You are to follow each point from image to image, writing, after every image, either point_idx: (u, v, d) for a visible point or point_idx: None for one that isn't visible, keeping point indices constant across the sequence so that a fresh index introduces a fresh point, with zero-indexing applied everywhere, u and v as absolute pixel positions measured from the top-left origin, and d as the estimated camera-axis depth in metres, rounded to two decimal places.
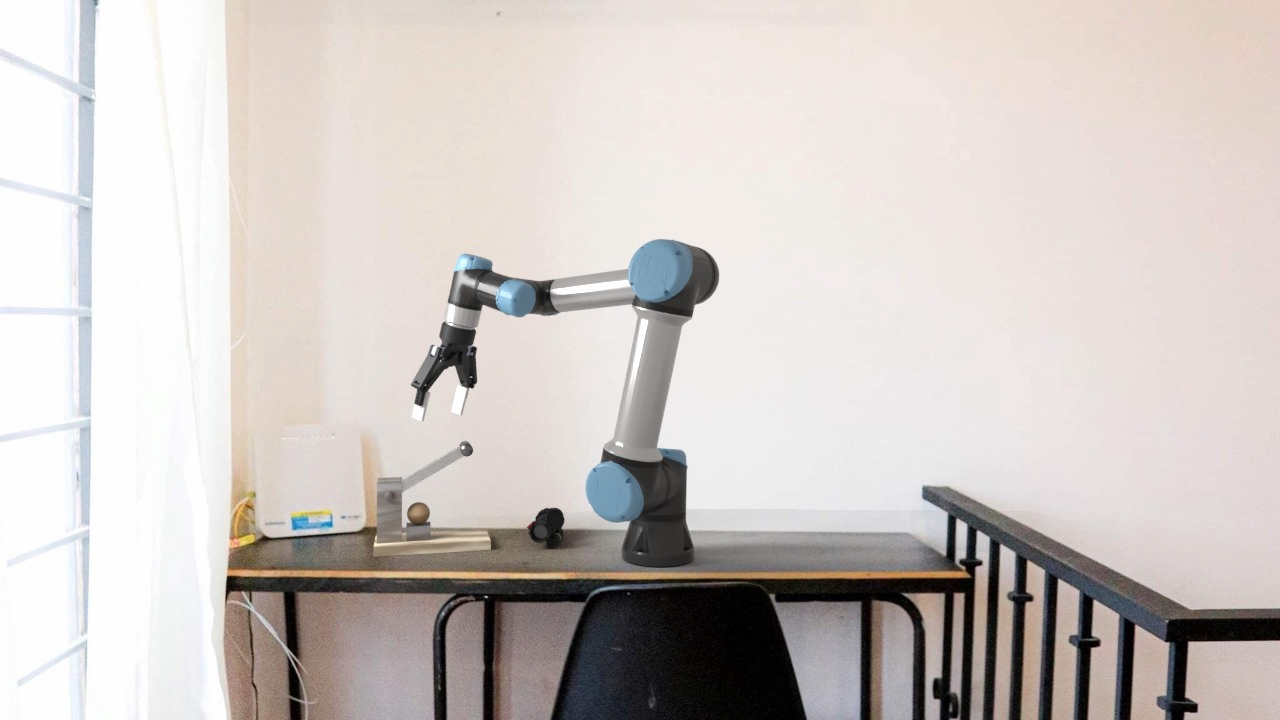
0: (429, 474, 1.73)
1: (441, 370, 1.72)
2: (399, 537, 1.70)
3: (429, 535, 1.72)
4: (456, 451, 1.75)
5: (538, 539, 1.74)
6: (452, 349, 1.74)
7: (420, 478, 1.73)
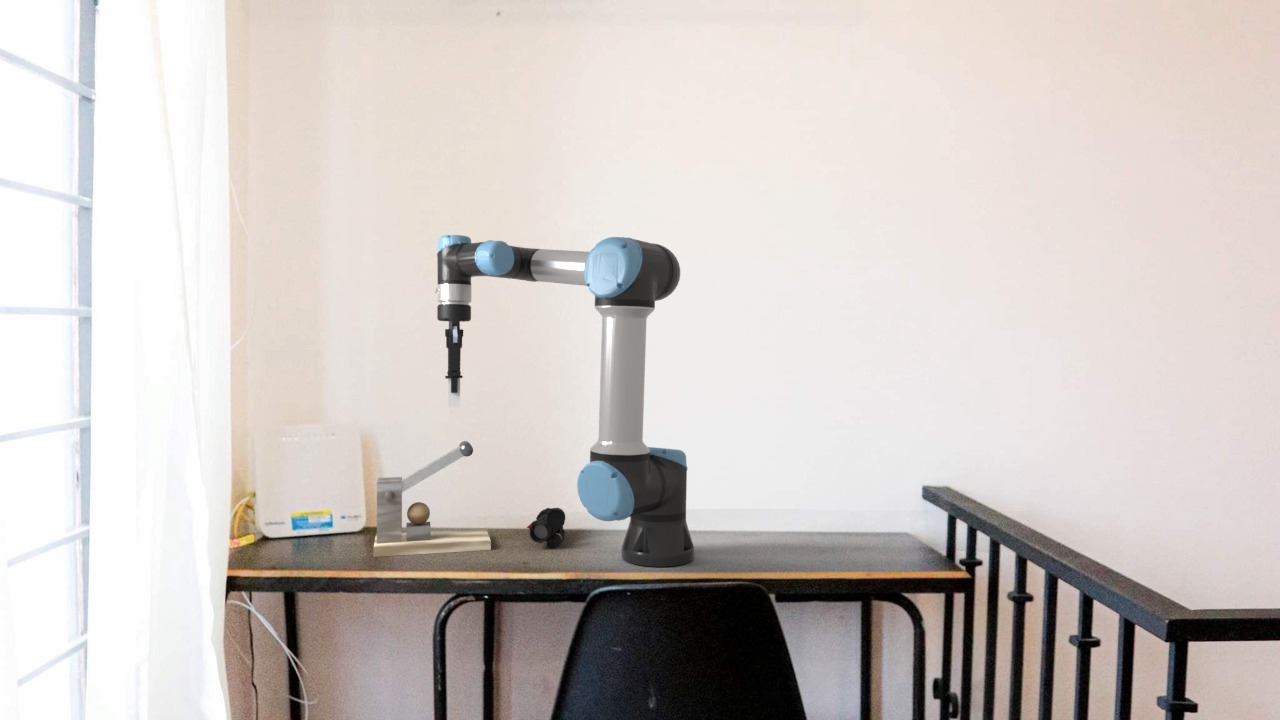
0: (429, 474, 1.73)
1: None
2: (399, 537, 1.70)
3: (429, 535, 1.72)
4: (456, 451, 1.75)
5: (538, 539, 1.74)
6: (459, 324, 1.81)
7: (420, 478, 1.73)
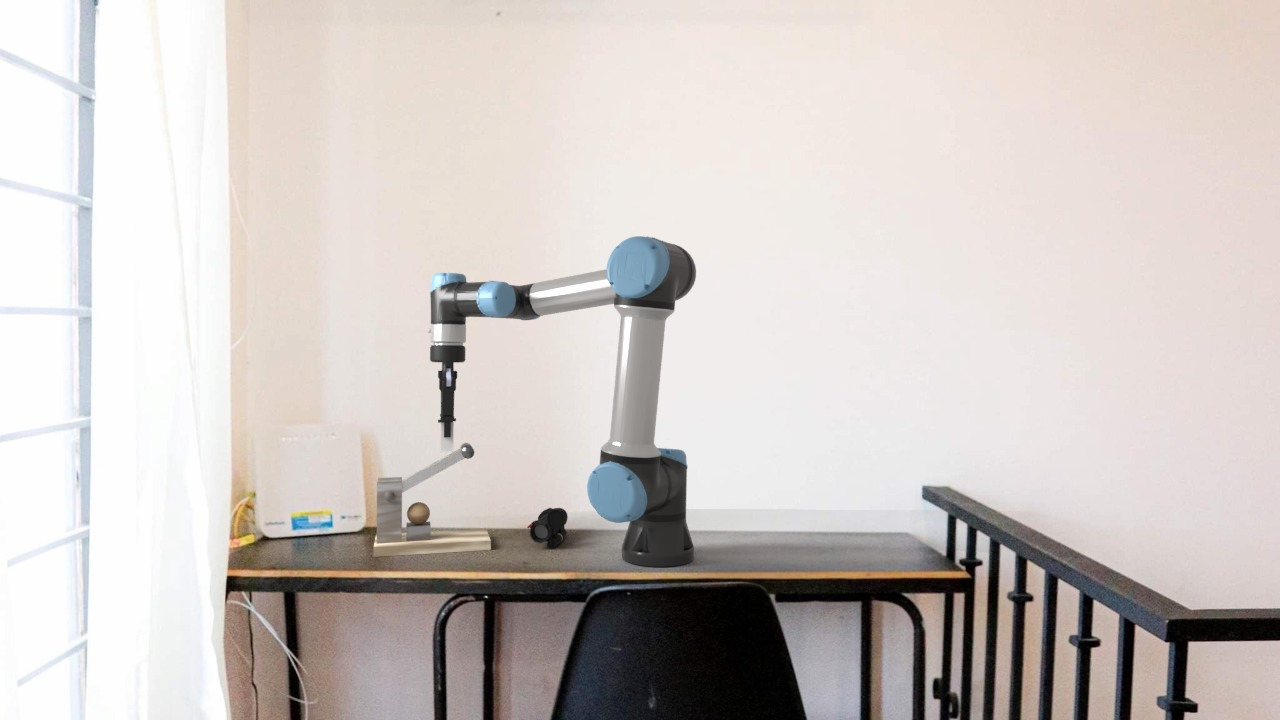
0: (430, 475, 1.73)
1: None
2: (399, 537, 1.70)
3: (429, 535, 1.72)
4: (457, 453, 1.75)
5: (539, 539, 1.74)
6: None
7: (420, 479, 1.73)
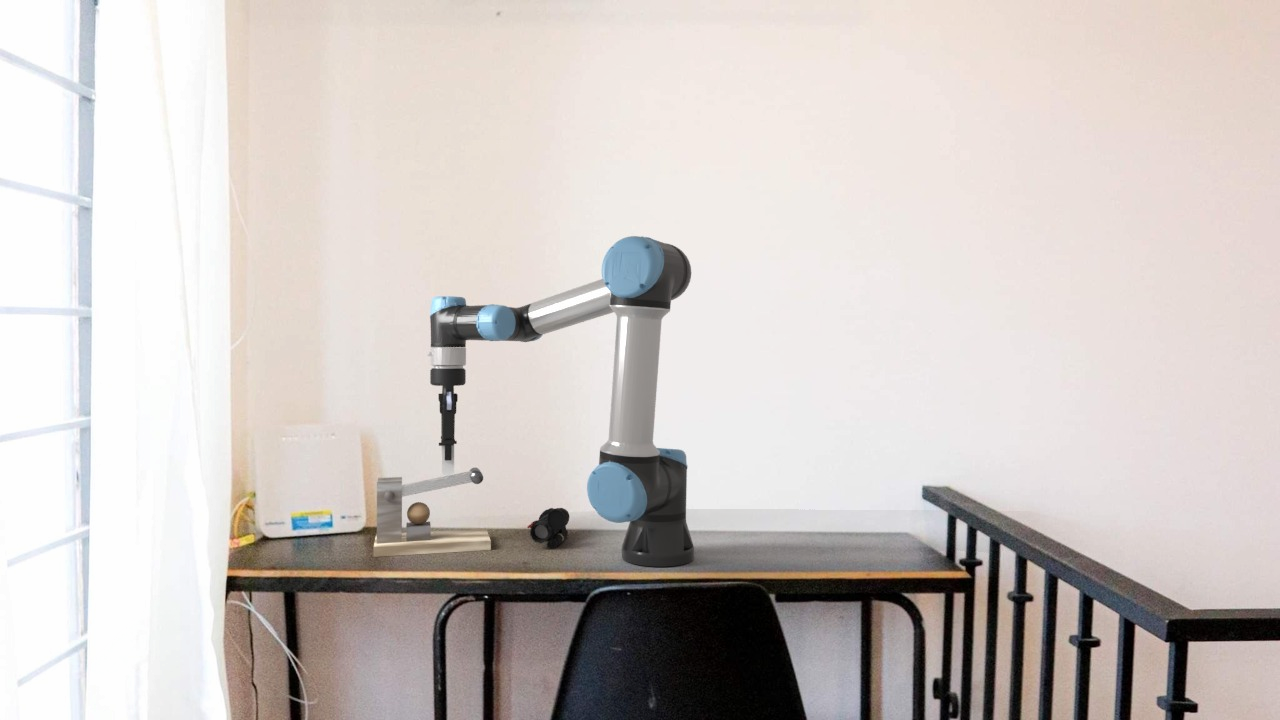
0: (433, 488, 1.74)
1: None
2: (399, 537, 1.70)
3: (429, 535, 1.72)
4: (466, 475, 1.75)
5: (539, 539, 1.74)
6: (453, 389, 1.73)
7: (423, 489, 1.73)
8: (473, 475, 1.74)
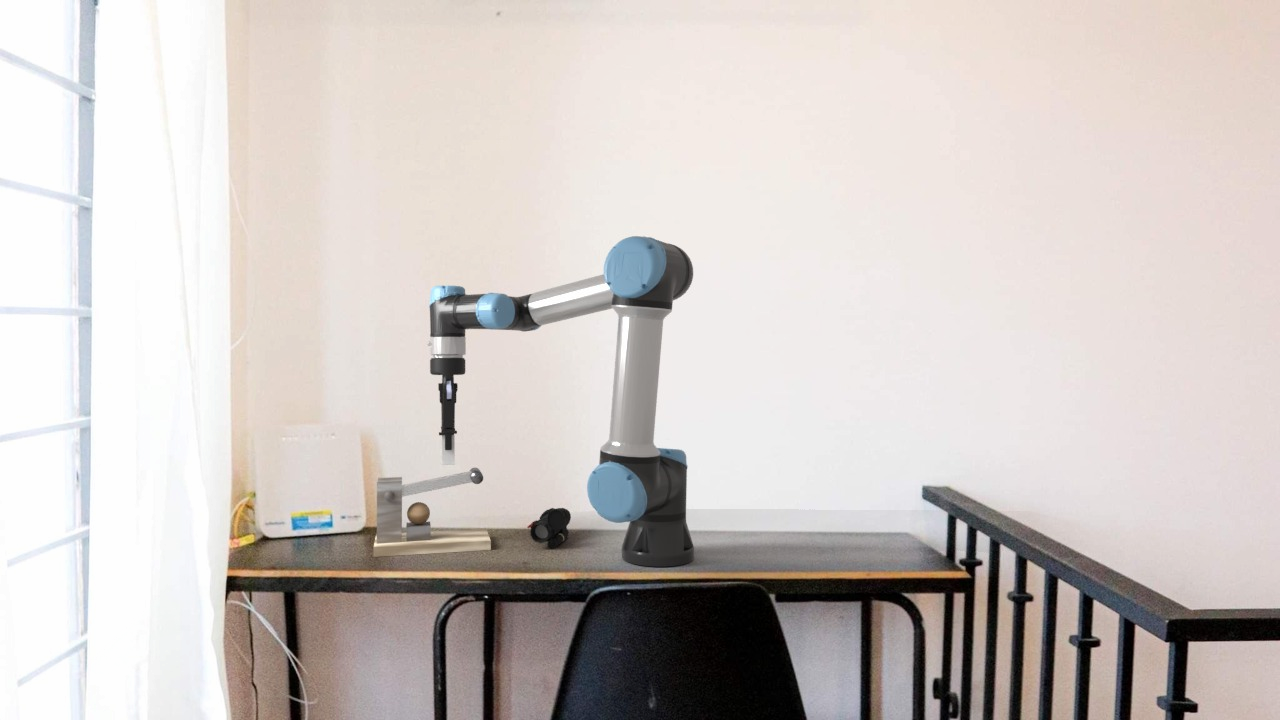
0: (433, 488, 1.74)
1: None
2: (399, 537, 1.70)
3: (429, 535, 1.72)
4: (466, 475, 1.75)
5: (539, 539, 1.74)
6: (453, 378, 1.73)
7: (423, 489, 1.73)
8: (473, 475, 1.74)
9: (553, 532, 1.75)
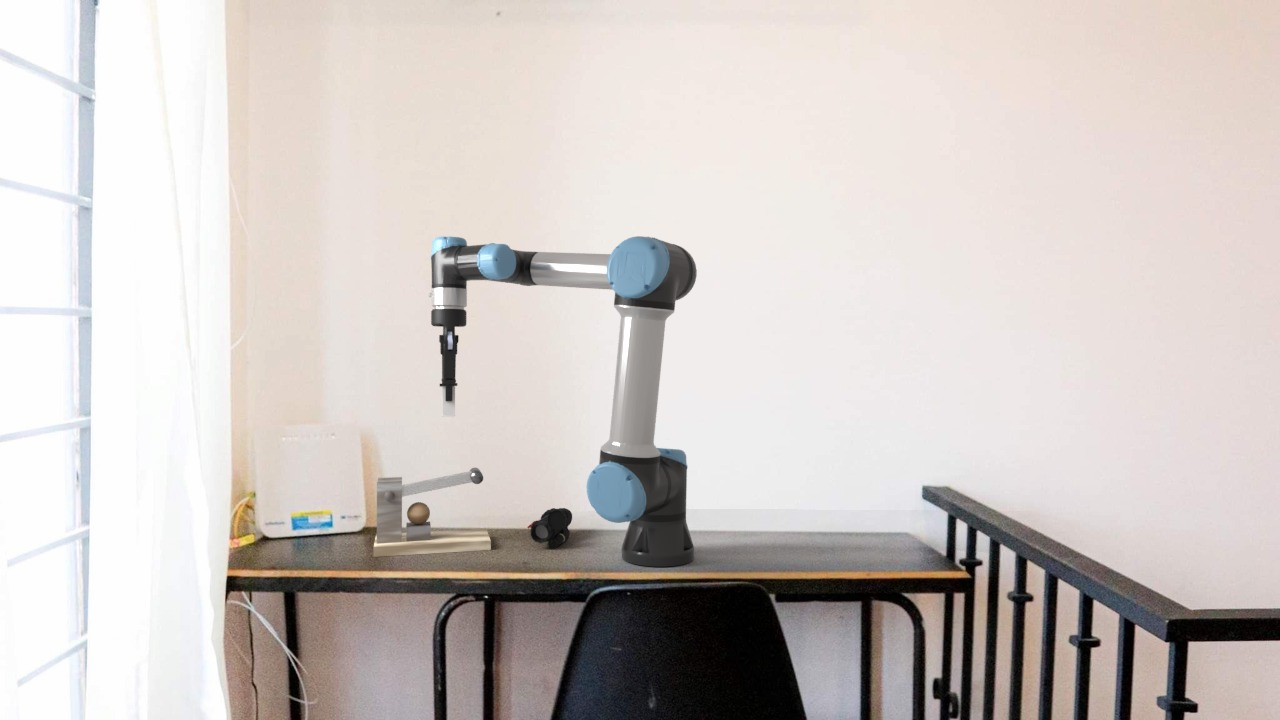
0: (433, 488, 1.74)
1: None
2: (399, 537, 1.70)
3: (429, 535, 1.72)
4: (466, 475, 1.75)
5: (539, 539, 1.74)
6: (454, 329, 1.73)
7: (423, 489, 1.73)
8: (473, 475, 1.74)
9: (553, 532, 1.75)
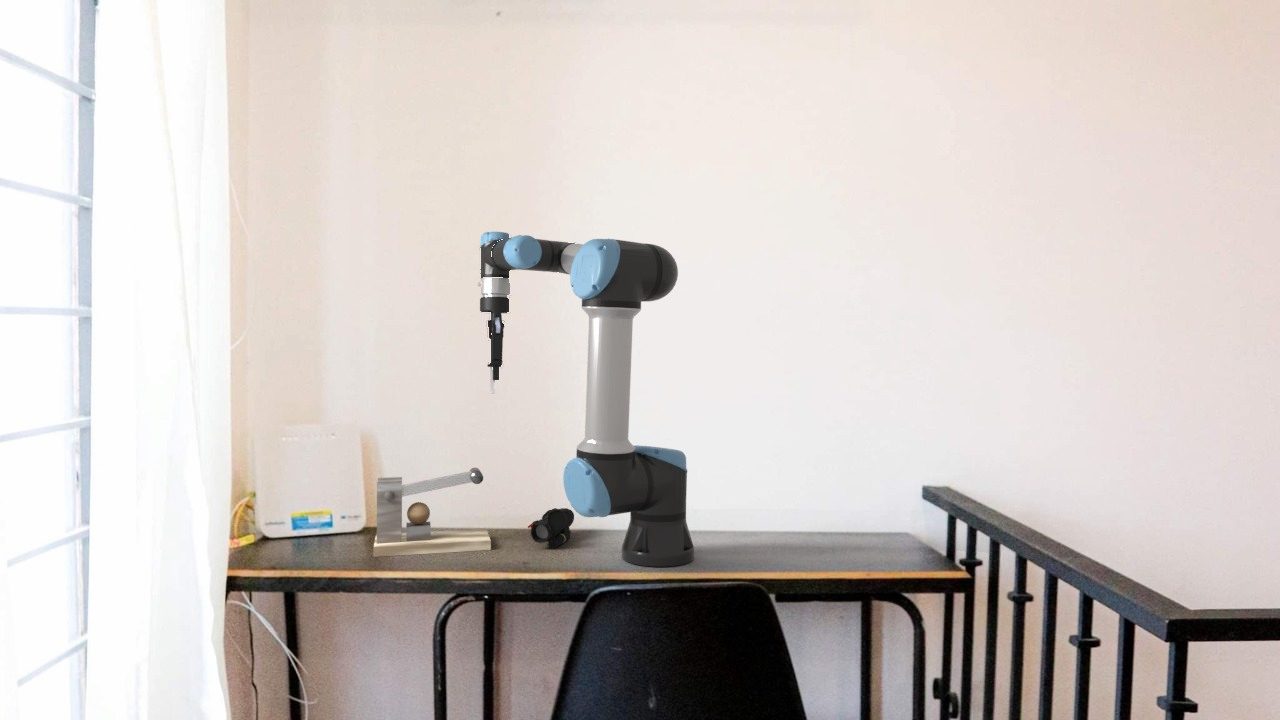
0: (433, 488, 1.74)
1: None
2: (399, 537, 1.70)
3: (429, 535, 1.72)
4: (466, 475, 1.75)
5: (539, 539, 1.74)
6: None
7: (423, 489, 1.73)
8: (473, 475, 1.74)
9: (554, 532, 1.75)
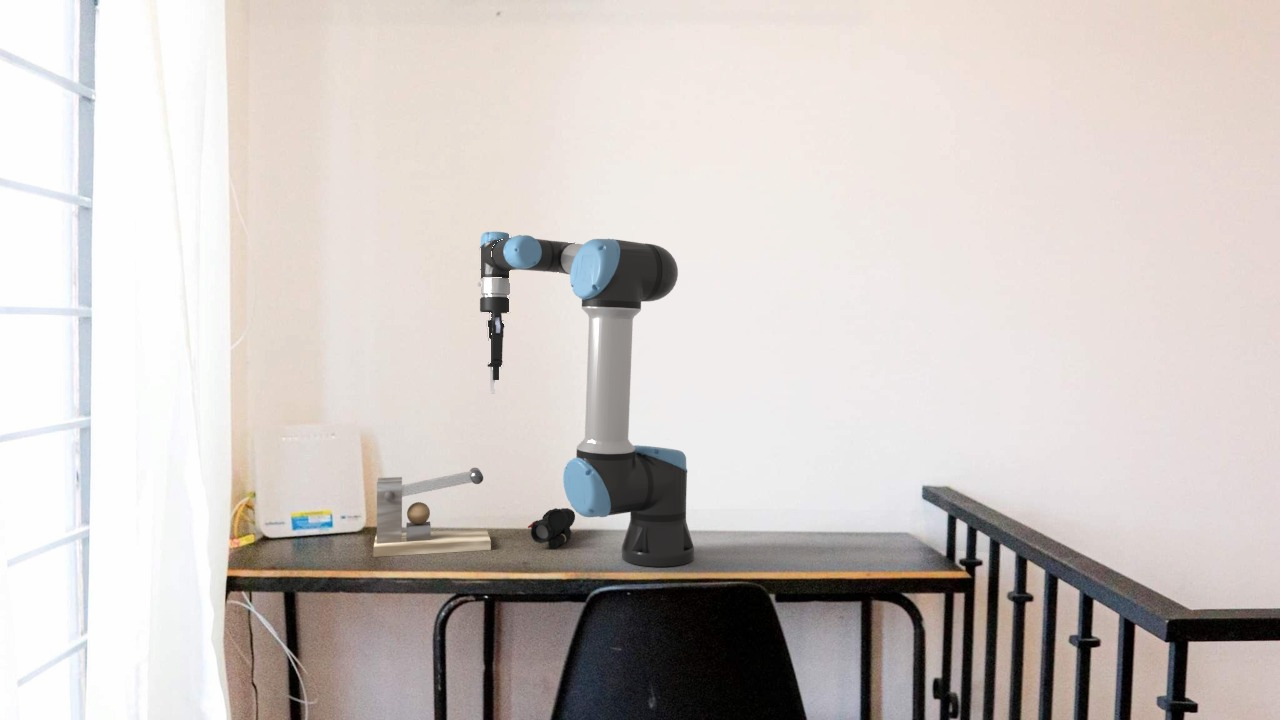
0: (433, 488, 1.74)
1: None
2: (399, 537, 1.70)
3: (429, 535, 1.72)
4: (466, 475, 1.75)
5: (540, 539, 1.74)
6: None
7: (423, 489, 1.73)
8: (473, 475, 1.74)
9: (554, 532, 1.75)
